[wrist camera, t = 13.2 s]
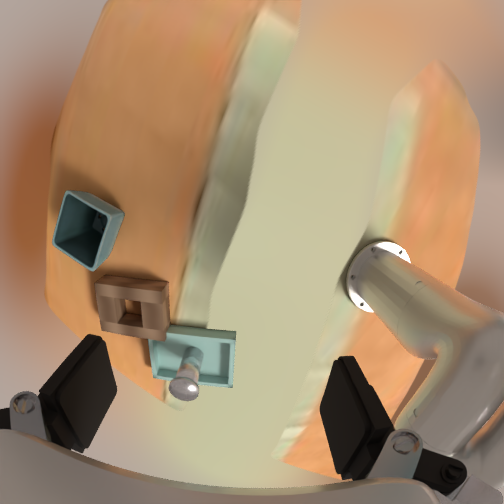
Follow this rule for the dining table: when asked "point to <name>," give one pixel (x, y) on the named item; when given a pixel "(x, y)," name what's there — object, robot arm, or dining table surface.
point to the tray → (208, 341)
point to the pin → (187, 375)
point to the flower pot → (86, 228)
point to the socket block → (146, 291)
